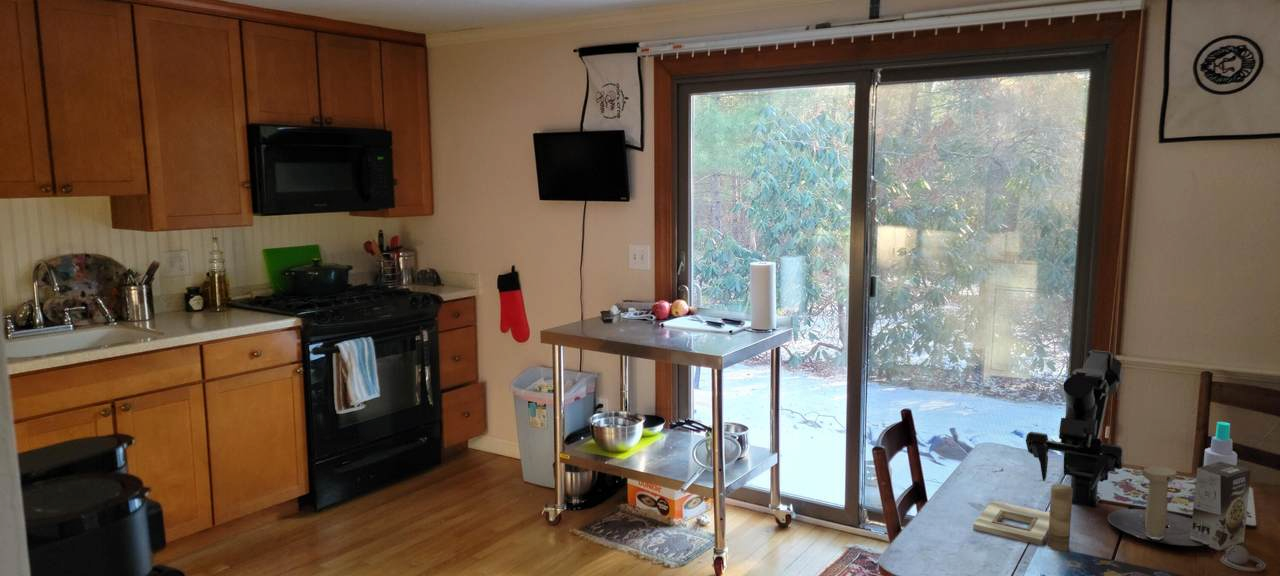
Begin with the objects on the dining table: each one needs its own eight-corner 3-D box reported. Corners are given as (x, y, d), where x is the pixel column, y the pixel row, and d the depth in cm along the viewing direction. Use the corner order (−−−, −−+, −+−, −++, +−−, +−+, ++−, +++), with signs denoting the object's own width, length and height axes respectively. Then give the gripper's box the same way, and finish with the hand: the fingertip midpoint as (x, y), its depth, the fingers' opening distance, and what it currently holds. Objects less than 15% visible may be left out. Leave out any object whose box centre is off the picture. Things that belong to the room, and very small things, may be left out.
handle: (1176, 541, 184) (1181, 474, 182) (1149, 544, 183) (1155, 476, 181) (1158, 532, 189) (1164, 466, 187) (1132, 534, 188) (1137, 468, 186)
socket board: (991, 505, 204) (992, 499, 204) (1056, 519, 196) (1057, 513, 196) (973, 529, 191) (973, 523, 191) (1041, 544, 183) (1042, 538, 183)
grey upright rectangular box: (1220, 551, 180) (1227, 476, 177) (1188, 539, 185) (1195, 467, 183) (1245, 542, 184) (1252, 469, 181) (1213, 530, 189) (1220, 459, 187)
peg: (1049, 540, 185) (1053, 482, 183) (1070, 545, 183) (1074, 486, 181) (1045, 548, 182) (1049, 488, 180) (1067, 553, 180) (1071, 493, 178)
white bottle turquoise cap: (1218, 524, 192) (1228, 428, 189) (1192, 514, 198) (1201, 421, 195) (1237, 520, 195) (1246, 425, 191) (1210, 510, 200) (1219, 418, 197)
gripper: (1030, 396, 192) (1015, 458, 185) (1125, 409, 182) (1114, 475, 174) (1035, 421, 200) (1021, 482, 193) (1127, 436, 189) (1117, 500, 182)
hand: (1066, 484), depth 185 cm, fingers open, 9 cm apart
